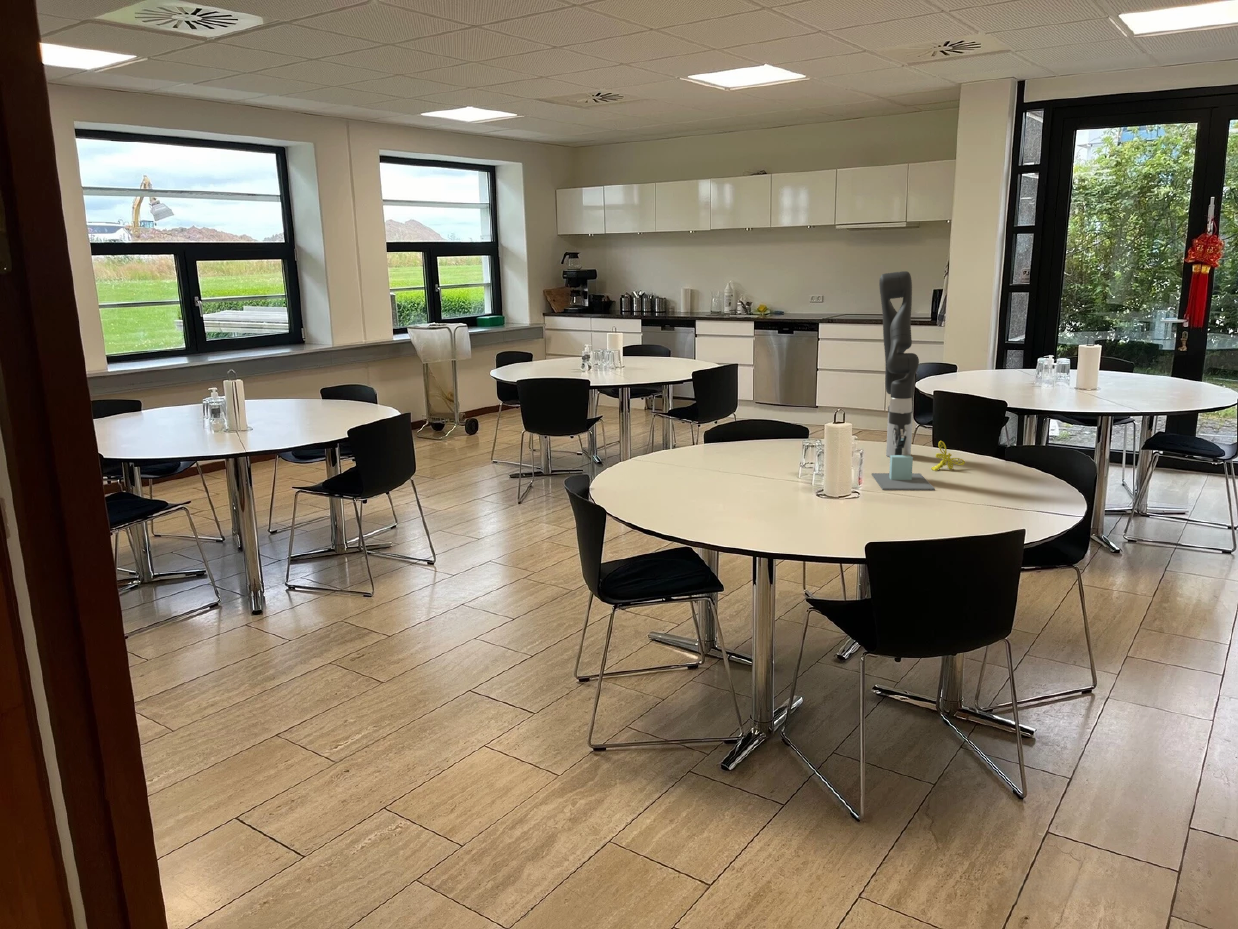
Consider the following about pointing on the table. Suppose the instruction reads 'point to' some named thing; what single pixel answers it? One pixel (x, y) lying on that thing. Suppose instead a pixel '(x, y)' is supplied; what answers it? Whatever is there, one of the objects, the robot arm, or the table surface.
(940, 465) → the decorative insect
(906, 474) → the pale blue block
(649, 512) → the table surface
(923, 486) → the mat
